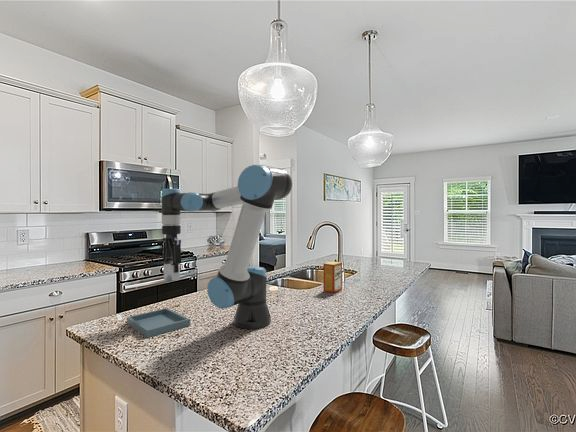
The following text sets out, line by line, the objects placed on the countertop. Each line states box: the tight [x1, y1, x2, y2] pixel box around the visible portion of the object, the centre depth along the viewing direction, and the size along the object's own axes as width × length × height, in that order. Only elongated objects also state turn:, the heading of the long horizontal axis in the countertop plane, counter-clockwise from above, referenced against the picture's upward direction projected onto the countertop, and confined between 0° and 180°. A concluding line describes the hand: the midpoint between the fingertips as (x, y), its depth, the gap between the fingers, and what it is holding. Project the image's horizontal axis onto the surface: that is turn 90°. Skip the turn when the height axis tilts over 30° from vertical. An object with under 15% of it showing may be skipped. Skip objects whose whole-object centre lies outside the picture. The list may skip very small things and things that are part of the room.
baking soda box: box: [322, 261, 343, 294], centre depth 183 cm, size 10×6×16 cm
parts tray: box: [126, 307, 191, 339], centre depth 132 cm, size 21×17×3 cm
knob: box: [163, 262, 181, 282], centre depth 139 cm, size 6×6×7 cm
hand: (172, 278), depth 139 cm, fingers closed on knob, 6 cm apart
